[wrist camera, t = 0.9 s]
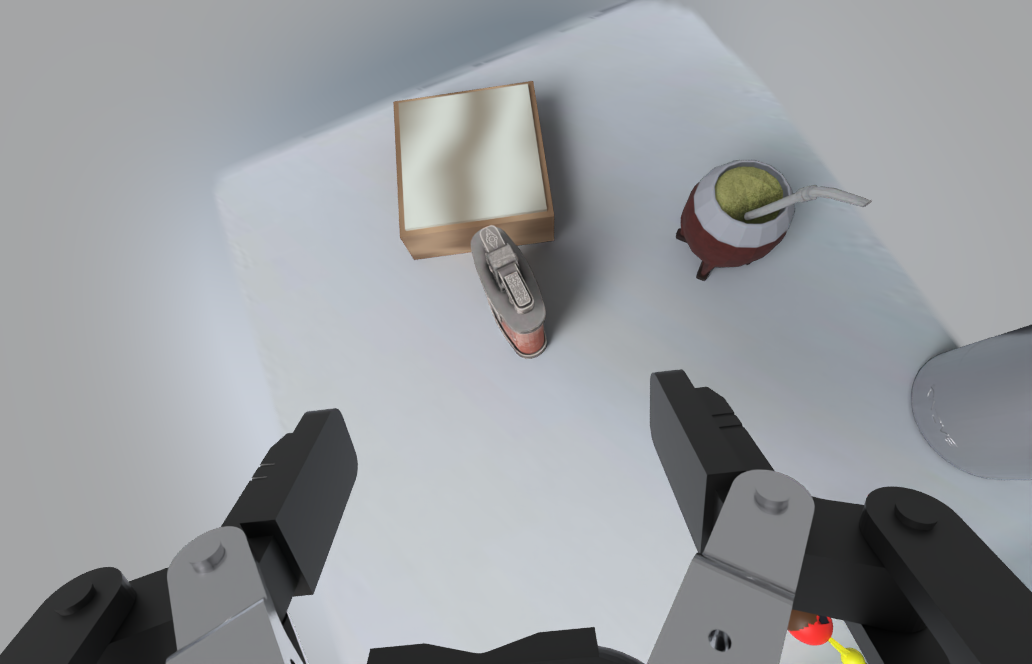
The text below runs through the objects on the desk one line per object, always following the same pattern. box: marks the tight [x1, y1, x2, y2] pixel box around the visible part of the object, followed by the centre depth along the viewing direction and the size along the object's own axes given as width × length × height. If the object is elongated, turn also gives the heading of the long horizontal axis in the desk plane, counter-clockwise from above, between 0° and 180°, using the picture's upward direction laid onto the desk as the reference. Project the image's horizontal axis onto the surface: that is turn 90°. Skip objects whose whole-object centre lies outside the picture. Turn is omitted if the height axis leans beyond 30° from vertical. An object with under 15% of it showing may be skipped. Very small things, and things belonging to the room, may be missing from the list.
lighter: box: [471, 225, 547, 359], centre depth 34 cm, size 8×3×10 cm, turn 25°
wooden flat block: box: [394, 81, 554, 260], centre depth 41 cm, size 12×13×4 cm
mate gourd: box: [676, 160, 872, 281], centre depth 32 cm, size 8×8×15 cm
